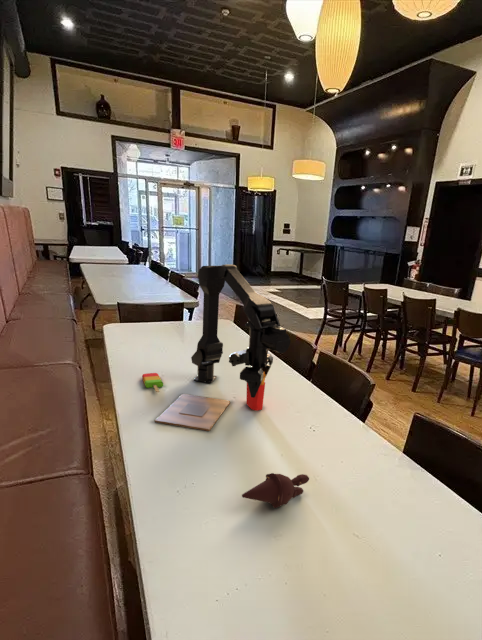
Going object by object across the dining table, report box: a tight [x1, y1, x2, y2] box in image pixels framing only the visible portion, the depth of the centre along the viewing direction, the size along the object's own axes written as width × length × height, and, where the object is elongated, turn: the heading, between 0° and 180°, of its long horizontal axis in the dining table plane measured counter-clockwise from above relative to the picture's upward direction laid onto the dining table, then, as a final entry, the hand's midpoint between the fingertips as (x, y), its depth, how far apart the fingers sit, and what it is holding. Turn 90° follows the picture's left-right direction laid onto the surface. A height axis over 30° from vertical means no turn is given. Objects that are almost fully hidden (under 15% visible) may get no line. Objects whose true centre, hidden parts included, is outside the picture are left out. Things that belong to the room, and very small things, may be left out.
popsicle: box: [141, 372, 164, 393], centre depth 138 cm, size 6×15×2 cm, turn 25°
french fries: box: [245, 370, 267, 411], centre depth 127 cm, size 8×4×12 cm, turn 29°
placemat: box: [154, 393, 231, 432], centre depth 123 cm, size 20×16×1 cm
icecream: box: [241, 472, 310, 509], centre depth 85 cm, size 7×7×15 cm
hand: (255, 392), depth 128 cm, fingers closed on french fries, 7 cm apart
